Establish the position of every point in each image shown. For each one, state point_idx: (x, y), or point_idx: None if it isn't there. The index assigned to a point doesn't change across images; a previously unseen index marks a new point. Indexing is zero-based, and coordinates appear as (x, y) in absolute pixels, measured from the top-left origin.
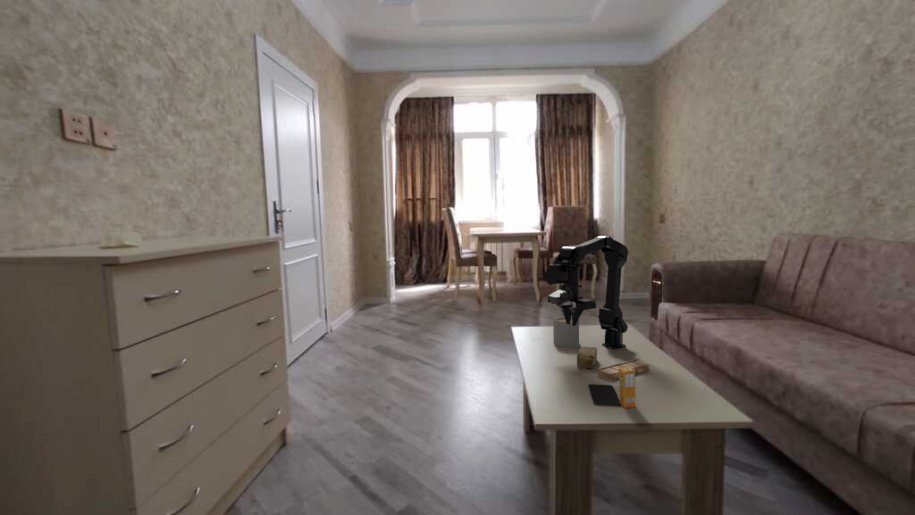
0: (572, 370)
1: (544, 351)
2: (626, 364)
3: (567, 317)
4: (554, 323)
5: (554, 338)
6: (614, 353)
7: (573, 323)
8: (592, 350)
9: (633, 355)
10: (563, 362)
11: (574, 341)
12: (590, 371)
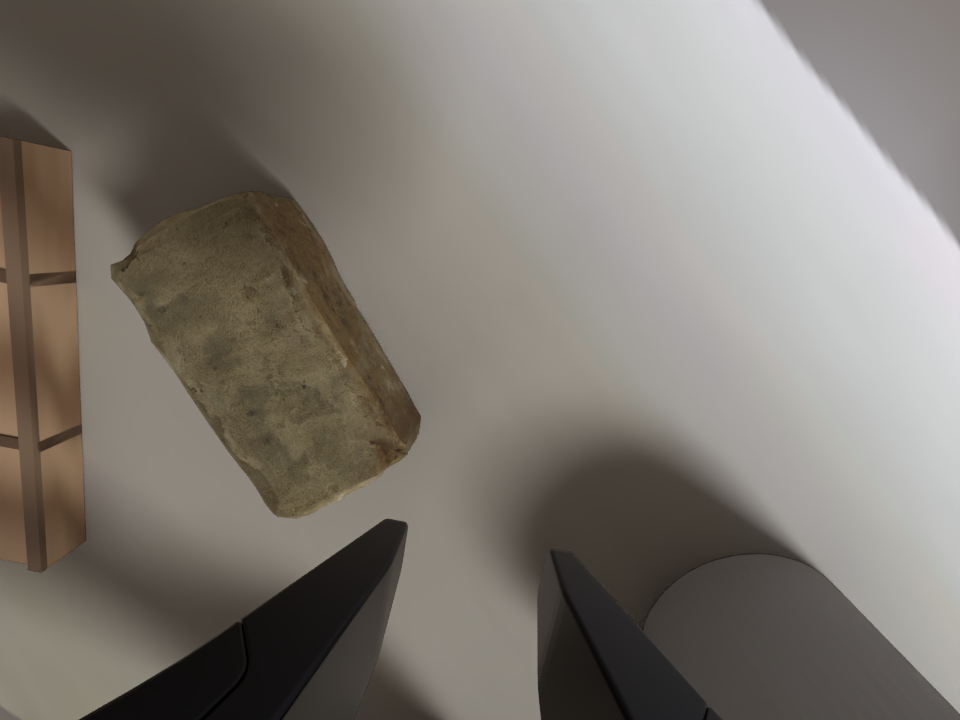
0: (274, 108)
1: (770, 356)
2: (2, 430)
3: (577, 677)
4: None
5: (848, 607)
6: None
7: (357, 539)
8: (223, 404)
9: None
10: (459, 227)
11: None
12: (174, 203)
